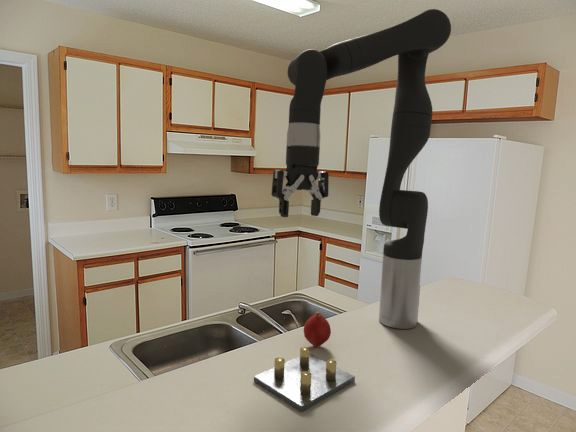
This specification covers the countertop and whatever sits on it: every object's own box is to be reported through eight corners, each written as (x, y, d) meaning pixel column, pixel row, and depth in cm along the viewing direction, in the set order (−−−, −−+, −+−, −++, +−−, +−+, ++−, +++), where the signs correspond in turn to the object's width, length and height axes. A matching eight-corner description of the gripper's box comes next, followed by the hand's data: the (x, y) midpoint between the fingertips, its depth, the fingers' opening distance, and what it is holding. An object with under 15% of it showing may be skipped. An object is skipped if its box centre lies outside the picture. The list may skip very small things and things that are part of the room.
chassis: (307, 357, 84) (307, 338, 84) (354, 381, 76) (355, 360, 75) (253, 381, 75) (254, 360, 74) (301, 412, 66) (302, 388, 65)
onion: (298, 342, 91) (300, 308, 90) (322, 339, 93) (324, 305, 92) (309, 354, 85) (311, 317, 84) (334, 351, 87) (336, 314, 86)
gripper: (318, 147, 100) (314, 213, 102) (267, 143, 92) (264, 215, 94) (338, 146, 94) (334, 217, 96) (285, 142, 86) (282, 219, 88)
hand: (299, 216), depth 95 cm, fingers open, 8 cm apart
